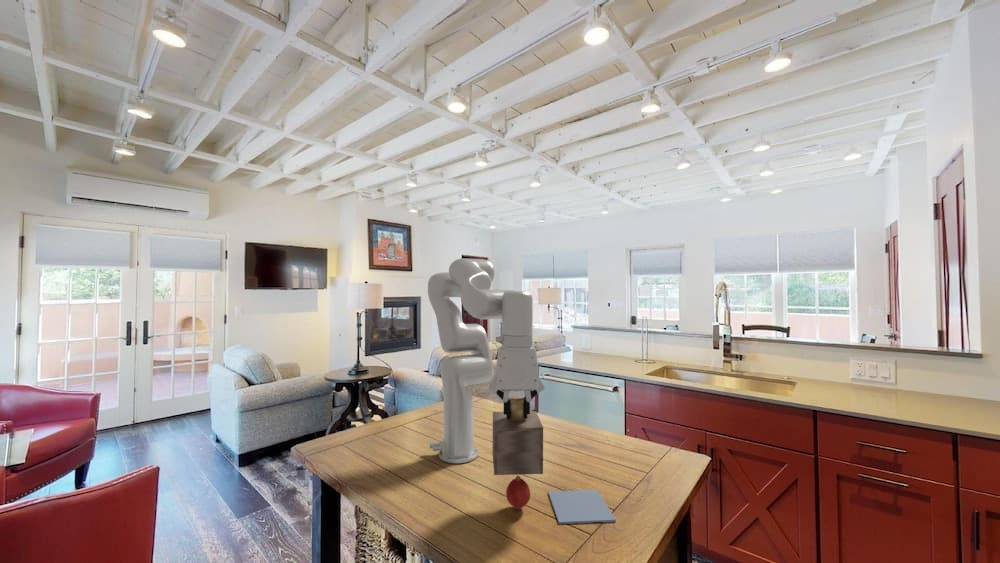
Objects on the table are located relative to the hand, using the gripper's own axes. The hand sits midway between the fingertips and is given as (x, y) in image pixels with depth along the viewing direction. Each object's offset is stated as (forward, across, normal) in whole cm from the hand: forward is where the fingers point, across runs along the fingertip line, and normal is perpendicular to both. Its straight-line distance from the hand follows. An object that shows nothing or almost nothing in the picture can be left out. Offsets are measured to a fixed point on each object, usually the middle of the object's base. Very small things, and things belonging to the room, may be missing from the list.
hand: (516, 416), depth 91 cm
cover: (+11, 0, 0) cm, 11 cm away
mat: (+22, +15, -1) cm, 27 cm away
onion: (+22, 0, -1) cm, 22 cm away
